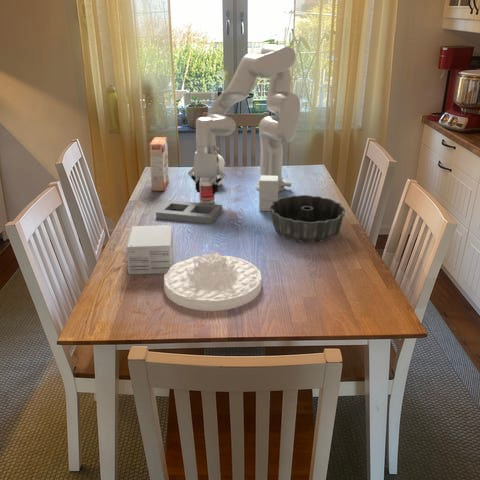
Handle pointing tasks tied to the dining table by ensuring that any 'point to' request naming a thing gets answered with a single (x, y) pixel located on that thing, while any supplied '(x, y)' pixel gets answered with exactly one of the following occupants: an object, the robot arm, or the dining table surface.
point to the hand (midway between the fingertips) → (206, 191)
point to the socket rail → (189, 212)
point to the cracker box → (159, 163)
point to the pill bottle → (206, 190)
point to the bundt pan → (307, 218)
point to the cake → (212, 282)
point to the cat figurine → (221, 163)
